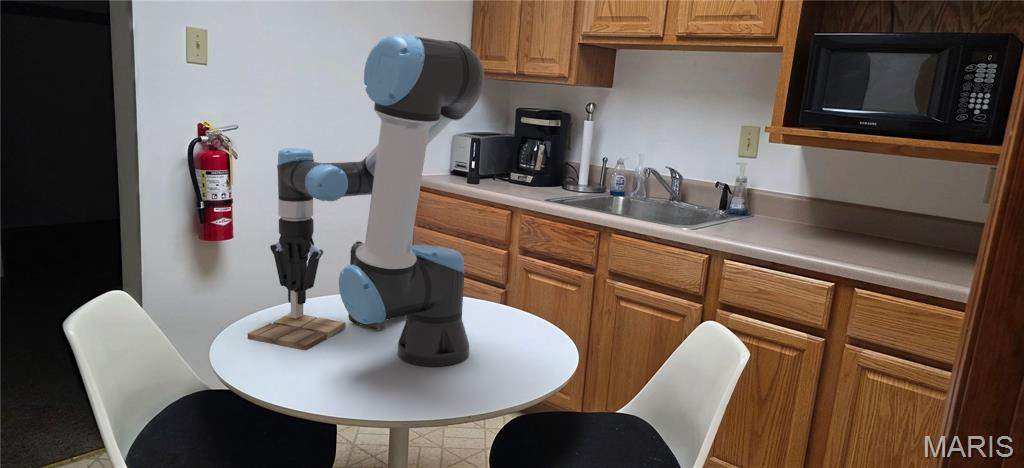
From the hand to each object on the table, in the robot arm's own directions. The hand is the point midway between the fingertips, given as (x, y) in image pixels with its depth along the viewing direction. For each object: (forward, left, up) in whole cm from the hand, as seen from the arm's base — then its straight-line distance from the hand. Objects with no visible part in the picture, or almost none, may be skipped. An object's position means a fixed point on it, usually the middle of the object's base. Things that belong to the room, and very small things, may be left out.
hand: (297, 316), depth 156 cm
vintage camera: (-16, -12, -2) cm, 20 cm away
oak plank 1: (0, +1, -2) cm, 2 cm away
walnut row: (-4, +9, -2) cm, 10 cm away
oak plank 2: (-8, +1, -2) cm, 8 cm away
